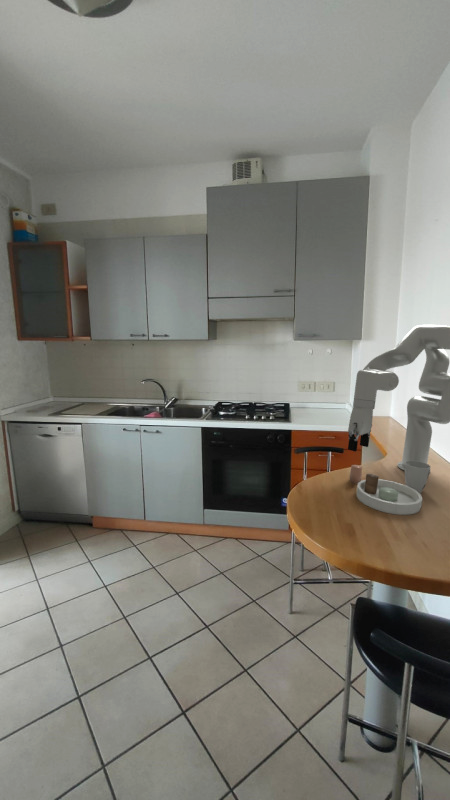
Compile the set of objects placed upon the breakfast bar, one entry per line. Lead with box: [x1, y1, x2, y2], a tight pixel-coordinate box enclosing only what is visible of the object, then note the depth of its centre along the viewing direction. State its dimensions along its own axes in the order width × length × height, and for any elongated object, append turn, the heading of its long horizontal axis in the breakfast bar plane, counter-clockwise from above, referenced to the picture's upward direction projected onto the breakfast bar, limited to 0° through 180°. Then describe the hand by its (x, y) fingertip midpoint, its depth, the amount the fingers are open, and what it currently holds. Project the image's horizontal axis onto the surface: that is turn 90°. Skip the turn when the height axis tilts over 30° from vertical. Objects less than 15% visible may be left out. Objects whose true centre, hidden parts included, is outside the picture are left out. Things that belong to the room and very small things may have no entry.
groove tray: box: [355, 478, 423, 516], centre depth 122 cm, size 20×20×4 cm
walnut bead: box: [364, 473, 380, 494], centre depth 126 cm, size 4×4×6 cm
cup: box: [404, 461, 431, 494], centre depth 131 cm, size 8×8×10 cm
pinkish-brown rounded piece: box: [349, 464, 363, 485], centre depth 137 cm, size 4×4×6 cm
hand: (358, 448), depth 135 cm, fingers open, 9 cm apart
